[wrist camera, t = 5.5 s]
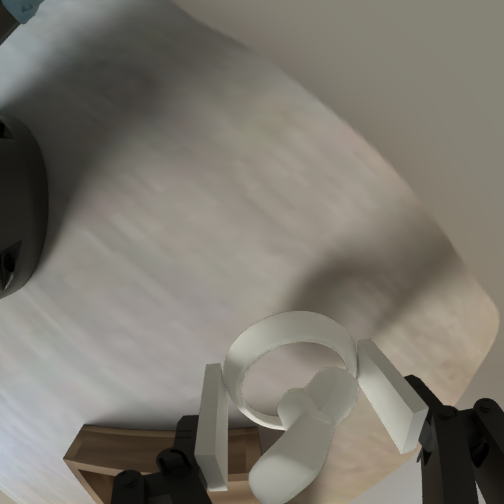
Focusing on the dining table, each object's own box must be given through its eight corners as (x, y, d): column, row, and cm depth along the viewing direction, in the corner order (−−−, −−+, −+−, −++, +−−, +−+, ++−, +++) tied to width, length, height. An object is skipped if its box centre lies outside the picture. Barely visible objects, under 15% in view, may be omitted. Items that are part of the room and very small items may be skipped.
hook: (193, 230, 9) (416, 354, 6) (289, 295, 20) (382, 348, 17) (94, 415, 8) (249, 552, 5) (231, 388, 19) (317, 445, 16)
